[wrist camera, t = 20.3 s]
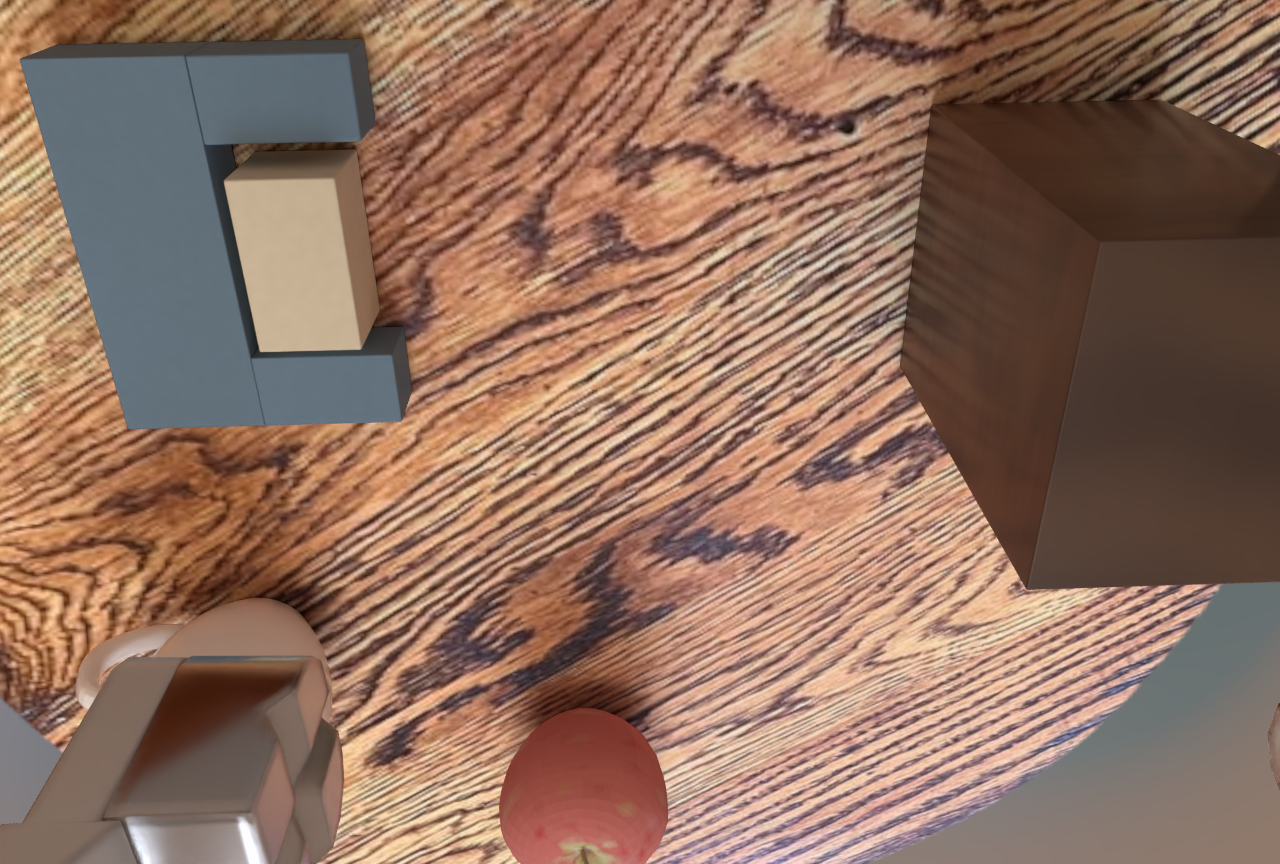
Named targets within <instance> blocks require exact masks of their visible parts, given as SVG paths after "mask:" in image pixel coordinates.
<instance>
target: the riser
mask: <svg viewBox="0 0 1280 864" xmlns="http://www.w3.org/2000/svg"><path fill="white" fill-rule="evenodd" d="M900 367H901V369H902V370H903V372H904V374H905V376H906V377H907V379H908V381H909V383H910V385H911V386H912V388H913V390H914V392H915V393H916V395H917V397H918V399H919V400H920V402H921V404H922V406H923V407H924V409H925V411H926V413H927V415H928V416H929V418H930V420H931V422H932V423H933V425H934V427H935V429H936V430H937V432H938V434H939V436H940V438H941V439H942V441H943V443H944V445H945V446H946V448H947V450H948V452H949V453H950V455H951V457H952V459H953V461H954V462H955V464H956V466H957V468H958V469H959V471H960V473H961V475H962V476H963V478H964V480H965V482H966V483H967V485H968V487H969V489H970V491H971V492H972V494H973V496H974V498H975V499H976V501H977V503H978V505H979V506H980V508H981V510H982V512H983V514H984V515H985V517H986V519H987V521H988V522H989V524H990V526H991V528H992V529H993V531H994V533H995V535H996V537H997V538H998V540H999V542H1000V544H1001V545H1002V547H1003V549H1004V551H1005V552H1006V554H1007V556H1008V558H1009V559H1010V561H1011V563H1012V565H1013V567H1014V568H1015V570H1016V572H1017V574H1018V575H1019V577H1020V579H1021V581H1022V582H1023V584H1024V586H1025V588H1026V589H1027V590H1035V589H1067V588H1099V587H1131V586H1162V585H1194V584H1226V583H1255V582H1257V583H1258V582H1280V155H1278V154H1276V153H1274V152H1272V151H1270V150H1267V149H1265V148H1263V147H1261V146H1259V145H1257V144H1255V143H1252V142H1250V141H1248V140H1246V139H1244V138H1242V137H1240V136H1237V135H1235V134H1233V133H1231V132H1229V131H1227V130H1225V129H1223V128H1220V127H1218V126H1216V125H1214V124H1212V123H1210V122H1208V121H1205V120H1203V119H1201V118H1199V117H1197V116H1195V115H1193V114H1190V113H1188V112H1186V111H1184V110H1182V109H1180V108H1178V107H1175V106H1173V105H1171V104H1169V103H1167V102H1165V101H1163V100H1123V101H1076V102H1030V103H983V104H936V105H932V107H931V115H930V123H929V131H928V140H927V148H926V156H925V164H924V173H923V181H922V189H921V198H920V206H919V214H918V222H917V231H916V239H915V247H914V255H913V264H912V272H911V280H910V289H909V297H908V305H907V313H906V322H905V330H904V338H903V347H902V355H901V363H900Z"/></svg>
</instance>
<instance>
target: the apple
mask: <svg viewBox="0 0 1280 864" xmlns="http://www.w3.org/2000/svg"><path fill="white" fill-rule="evenodd" d="M499 812H500V824H501V831H502V834H503V838H504V840H505V842H506V844H507V845H508V847H509V849H510V851H511V852H512V854H513V855H514V857H515V858H516V859H517V861H518V862H519V863H521V864H645V863H646V862H647V860H648V859H649V858H650V857H651V855H652V854H653V853H654V852H655V850H656V849H657V848H658V846H659V844H660V842H661V840H662V837H663V835H664V832H665V829H666V826H667V823H668V803H667V792H666V786H665V781H664V777H663V774H662V771H661V768H660V765H659V762H658V759H657V756H656V754H655V752H654V751H653V749H652V748H651V746H650V745H649V743H648V742H647V740H646V739H645V737H644V736H643V735H642V734H641V732H640V731H638V730H637V729H636V728H635V727H633V726H632V725H631V724H629V723H628V722H626V721H625V720H624V719H622V718H620V717H618V716H616V715H613V714H611V713H608V712H606V711H603V710H598V709H594V708H577V709H572V710H567V711H565V712H562V713H560V714H557V715H555V716H553V717H552V718H550V719H548V720H547V721H545V722H543V723H542V724H541V725H539V726H538V727H537V728H536V729H535V730H534V731H533V732H532V733H531V734H530V735H529V736H528V738H527V739H526V740H525V741H524V743H523V744H522V746H521V747H520V749H519V750H518V752H517V753H516V755H515V756H514V758H513V760H512V761H511V763H510V766H509V768H508V770H507V773H506V777H505V780H504V783H503V787H502V790H501V796H500V806H499Z"/></svg>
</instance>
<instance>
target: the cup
mask: <svg viewBox="0 0 1280 864" xmlns="http://www.w3.org/2000/svg"><path fill="white" fill-rule="evenodd" d="M158 648H159V649H158ZM153 649H158V650H157V651H156V652H155V653H154V655H153V656H152V657H185V658H190V657H191V656H307V655H313V656H314V657H316V658H318V659H319V660H321V661H322V665H323V668H324V672H325V676H326V680H327V684H328V688H329V694H328V698H327V701H326V704H325V707H324V711H323V714H322V718H323V719H324V720H326V721H327V722H328V723H330V717H331V709H332V683H331V676H330V670H329V666H328V662H327V658H326V655H325V652H324V650H323V647H322V645H321V643H320V641H319V639H318V637H317V635H316V634H315V632H314V631H313V629H312V628H311V626H310V625H309V623H308V622H307V621H306V619H305V618H304V617H303V616H302V615H301V614H300V613H299V612H298V611H297V610H295V609H294V608H292V607H291V606H289V605H287V604H285V603H283V602H280V601H277V600H273V599H269V598H248V599H243V600H238V601H234V602H230V603H227V604H224V605H221V606H218V607H216V608H214V609H211V610H209V611H207V612H205V613H203V614H201V615H200V616H198V617H196V618H195V619H193V620H191V621H190V622H188V623H187V624H185V625H179V624H160V625H153V626H148V627H144V628H140V629H136V630H132V631H129V632H126V633H123V634H120V635H117V636H115V637H113V638H110V639H108V640H106V641H104V642H102V643H101V644H99V645H98V646H96V647H95V648H94V649H92V650H91V651H90V652H89V653H88V654H87V656H86V657H85V658H84V660H83V661H82V663H81V665H80V668H79V671H78V674H77V679H76V697H77V699H78V701H79V703H80V704H81V705H82V706H83V707H84V708H86V709H87V710H89V708H90V706H91V704H92V703H93V701H94V699H95V698H96V696H97V694H98V692H99V691H100V689H101V687H102V686H101V685H99V680H100V678H101V676H102V674H103V673H104V672H105V671H106V670H107V669H108V668H109V667H111V666H112V665H113V664H115V663H117V662H119V661H121V660H123V659H125V658H128V657H130V656H133V655H136V654H139V653H142V652H145V651H149V650H153Z"/></svg>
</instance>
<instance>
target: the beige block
mask: <svg viewBox="0 0 1280 864" xmlns="http://www.w3.org/2000/svg"><path fill="white" fill-rule="evenodd" d="M224 185H225V190H226V195H227V200H228V204H229V209H230V214H231V218H232V223H233V228H234V233H235V237H236V242H237V247H238V251H239V256H240V261H241V266H242V270H243V275H244V280H245V284H246V289H247V294H248V299H249V303H250V308H251V313H252V317H253V322H254V327H255V332H256V336H257V341H258V346H259V350H260V352H282V351H322V350H360V349H362V347H363V344H364V342H365V340H366V338H367V336H368V334H369V332H370V330H371V328H372V325H373V323H374V321H375V319H376V317H377V315H378V313H379V311H380V307H379V300H378V293H377V286H376V279H375V273H374V266H373V259H372V252H371V245H370V238H369V232H368V225H367V218H366V211H365V204H364V198H363V191H362V184H361V177H360V170H359V163H358V157H357V151H356V150H312V151H265V152H255V153H254V154H252V155H251V156H250V157H249V158H248V159H247V160H246V161H245V162H244V163H242V164H241V165H240V166H239V167H238V168H237V169H236V170H235V171H234V172H232V173H231V174H230V175H229V176H228V177H227V178H226V179H225V180H224Z"/></svg>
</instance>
